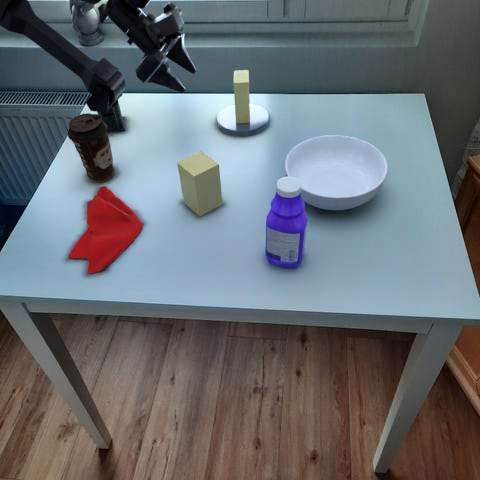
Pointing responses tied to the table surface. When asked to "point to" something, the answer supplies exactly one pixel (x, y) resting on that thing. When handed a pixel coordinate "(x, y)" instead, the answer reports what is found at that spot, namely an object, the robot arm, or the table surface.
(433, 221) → the table surface
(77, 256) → the cloth
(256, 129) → the saucer
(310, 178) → the serving bowl
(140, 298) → the table surface
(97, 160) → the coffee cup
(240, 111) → the butter slice
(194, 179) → the butter block
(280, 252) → the bottle
